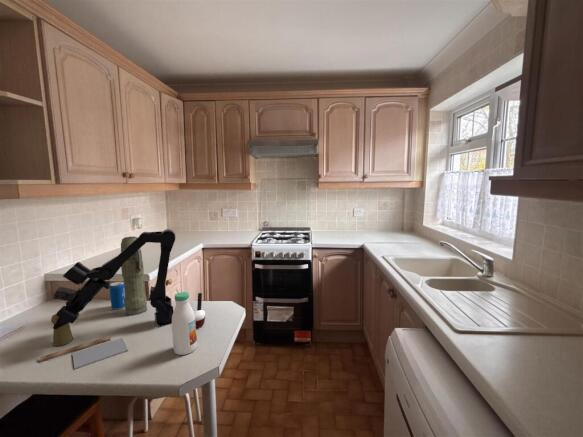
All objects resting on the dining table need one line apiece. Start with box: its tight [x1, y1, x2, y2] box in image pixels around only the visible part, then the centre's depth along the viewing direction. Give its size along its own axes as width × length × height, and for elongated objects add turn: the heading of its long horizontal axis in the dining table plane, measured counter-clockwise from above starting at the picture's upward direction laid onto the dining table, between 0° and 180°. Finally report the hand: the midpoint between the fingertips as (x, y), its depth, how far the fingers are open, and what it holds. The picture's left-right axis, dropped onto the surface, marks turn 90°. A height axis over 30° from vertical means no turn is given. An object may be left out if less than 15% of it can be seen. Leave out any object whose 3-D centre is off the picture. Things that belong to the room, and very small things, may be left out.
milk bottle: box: [171, 291, 198, 356], centre depth 98 cm, size 8×8×20 cm
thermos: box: [120, 236, 148, 316], centre depth 130 cm, size 9×12×35 cm
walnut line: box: [39, 335, 112, 363], centre depth 101 cm, size 20×2×1 cm, turn 130°
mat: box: [72, 337, 129, 370], centre depth 98 cm, size 15×11×1 cm
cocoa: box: [194, 292, 206, 329], centre depth 115 cm, size 10×6×12 cm, turn 155°
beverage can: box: [109, 281, 125, 311], centre depth 136 cm, size 6×6×12 cm
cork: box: [50, 313, 74, 347], centre depth 106 cm, size 6×6×11 cm
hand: (56, 325), depth 105 cm, fingers closed on cork, 5 cm apart
